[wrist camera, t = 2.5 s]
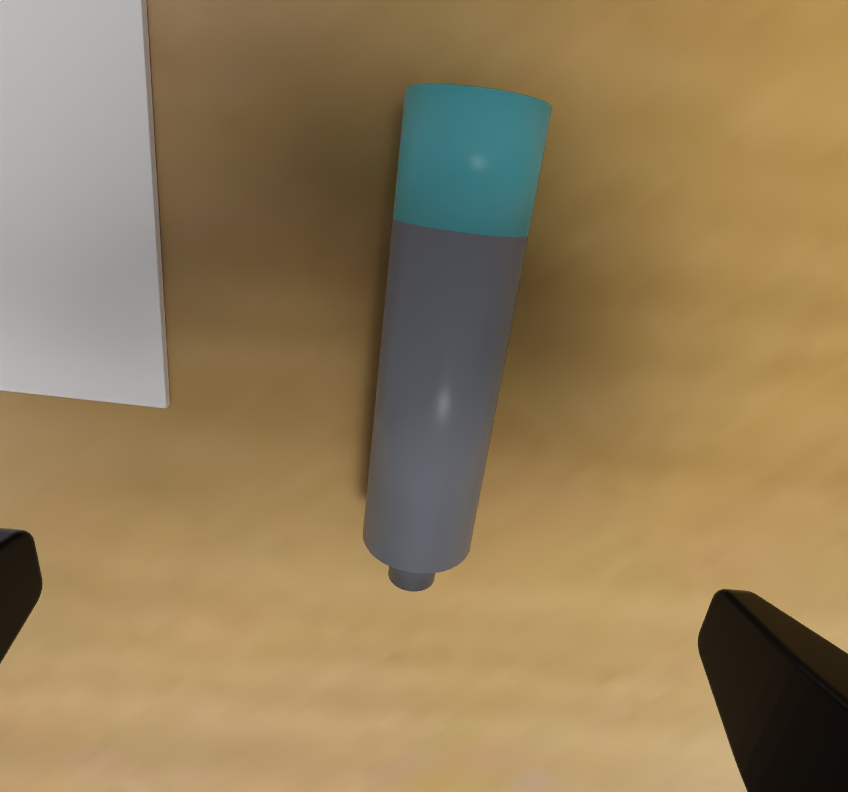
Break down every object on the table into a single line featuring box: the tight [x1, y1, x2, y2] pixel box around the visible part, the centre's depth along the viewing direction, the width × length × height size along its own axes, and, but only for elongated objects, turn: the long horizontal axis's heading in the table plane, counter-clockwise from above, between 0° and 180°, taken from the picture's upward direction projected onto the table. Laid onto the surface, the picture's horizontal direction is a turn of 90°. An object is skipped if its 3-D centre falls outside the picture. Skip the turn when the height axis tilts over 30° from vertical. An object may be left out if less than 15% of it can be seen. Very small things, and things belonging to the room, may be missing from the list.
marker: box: [363, 84, 552, 591], centre depth 16 cm, size 15×4×4 cm, turn 173°
